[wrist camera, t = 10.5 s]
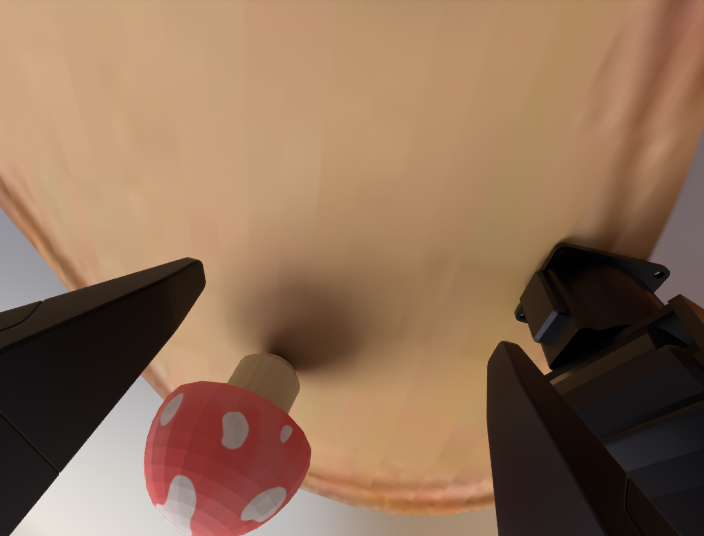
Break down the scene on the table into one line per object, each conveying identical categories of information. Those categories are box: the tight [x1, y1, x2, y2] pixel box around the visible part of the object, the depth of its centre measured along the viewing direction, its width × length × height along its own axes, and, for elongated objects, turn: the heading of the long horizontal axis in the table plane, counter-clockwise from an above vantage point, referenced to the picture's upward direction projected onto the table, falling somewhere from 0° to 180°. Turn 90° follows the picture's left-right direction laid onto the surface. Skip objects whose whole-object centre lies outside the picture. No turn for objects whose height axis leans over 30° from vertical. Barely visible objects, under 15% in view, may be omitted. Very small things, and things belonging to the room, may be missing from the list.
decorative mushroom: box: [144, 353, 311, 536], centre depth 27 cm, size 13×13×15 cm
